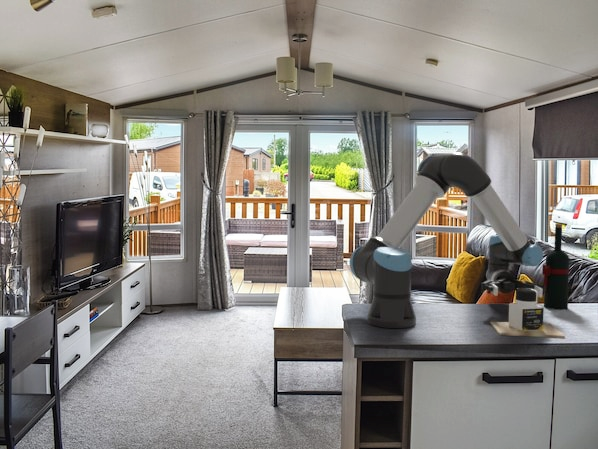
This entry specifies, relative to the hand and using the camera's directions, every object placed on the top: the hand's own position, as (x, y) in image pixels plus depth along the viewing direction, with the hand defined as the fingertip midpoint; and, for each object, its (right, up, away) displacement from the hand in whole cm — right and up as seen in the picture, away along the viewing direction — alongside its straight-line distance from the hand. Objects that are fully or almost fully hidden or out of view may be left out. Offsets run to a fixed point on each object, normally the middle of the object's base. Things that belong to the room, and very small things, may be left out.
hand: (518, 292), depth 180 cm
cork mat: (-1, -10, -9) cm, 14 cm away
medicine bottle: (-2, -10, -9) cm, 14 cm away
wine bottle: (+21, -8, +23) cm, 32 cm away
